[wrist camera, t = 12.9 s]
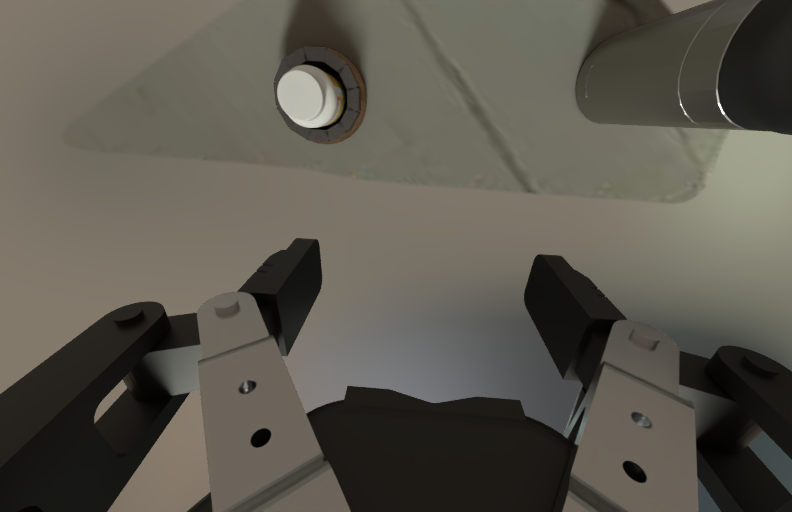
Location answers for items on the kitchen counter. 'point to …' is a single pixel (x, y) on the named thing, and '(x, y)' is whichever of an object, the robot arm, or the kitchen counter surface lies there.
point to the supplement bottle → (311, 96)
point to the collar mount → (349, 81)
